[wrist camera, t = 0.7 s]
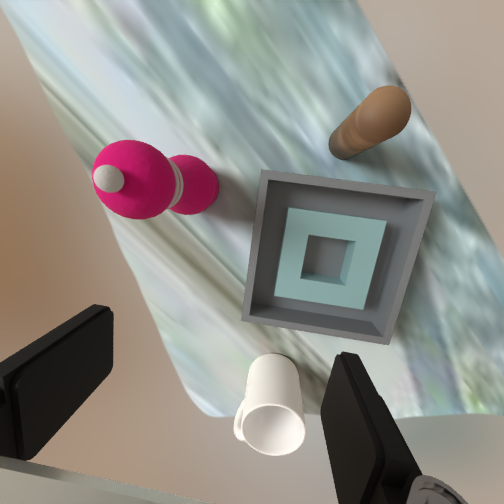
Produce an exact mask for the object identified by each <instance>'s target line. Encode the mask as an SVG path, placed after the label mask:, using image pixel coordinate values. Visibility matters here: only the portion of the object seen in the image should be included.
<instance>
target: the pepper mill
mask: <svg viewBox="0 0 504 504" xmlns="http://www.w3.org/2000/svg"><path fill="white" fill-rule="evenodd" d="M92 180H93V184H94V188H95V191H96V193H97V195H98V196H99V198H100V200H101V201H102V202H103V203H104V204H105V205H106V206H107V207H108V208H109V209H110V210H112V211H113V212H115V213H117V214H119V215H121V216H123V217H127V218H131V219H147V218H151V217H155V216H157V215H159V214H161V213H162V212H163V211H164V210H166V209H171V210H172V211H174V212H176V213H179V214H184V215H193V214H197V213H200V212H202V211H204V210H205V209H206V208H207V207H208V206H210V205H211V204H212V203H213V202H214V201H215V200H216V198H217V196H218V192H219V182H218V179H217V177H216V175H215V173H214V172H213V171H212V170H211V169H210V168H209V166H208V165H207V164H206V163H205V162H203V161H202V160H201V159H199V158H197V157H194V156H190V155H177V156H173V157H171V158H167V157H165V156H164V155H163V154H162V153H161V152H160V151H159V150H157V149H156V148H154V147H153V146H151V145H149V144H147V143H144V142H140V141H136V140H122V141H117V142H115V143H112V144H110V145H108V146H106V147H105V148H104V149H103V150H102V151H101V152H100V153H99V155H98V156H97V158H96V160H95V163H94V165H93V170H92Z"/></svg>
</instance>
